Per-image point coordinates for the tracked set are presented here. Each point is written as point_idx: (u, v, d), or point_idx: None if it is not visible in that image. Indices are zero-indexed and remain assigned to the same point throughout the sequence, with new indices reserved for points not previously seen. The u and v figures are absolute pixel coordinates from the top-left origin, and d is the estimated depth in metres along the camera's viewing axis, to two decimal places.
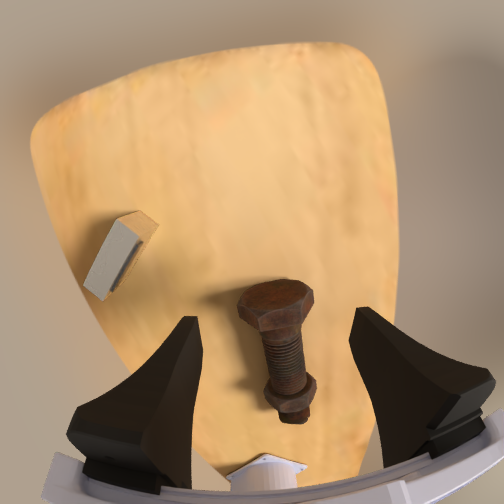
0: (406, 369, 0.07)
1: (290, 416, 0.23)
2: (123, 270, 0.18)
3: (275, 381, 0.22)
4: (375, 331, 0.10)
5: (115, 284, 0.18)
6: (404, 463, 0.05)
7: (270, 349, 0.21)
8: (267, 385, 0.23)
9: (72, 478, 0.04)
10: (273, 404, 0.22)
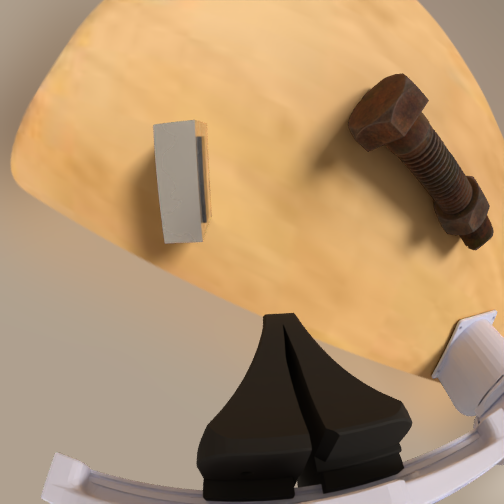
0: (304, 387, 0.07)
1: (480, 234, 0.16)
2: (202, 182, 0.13)
3: (447, 200, 0.15)
4: (288, 340, 0.10)
5: (204, 208, 0.14)
6: (404, 463, 0.05)
7: (421, 162, 0.14)
8: (440, 216, 0.17)
9: (72, 478, 0.04)
10: (460, 230, 0.15)
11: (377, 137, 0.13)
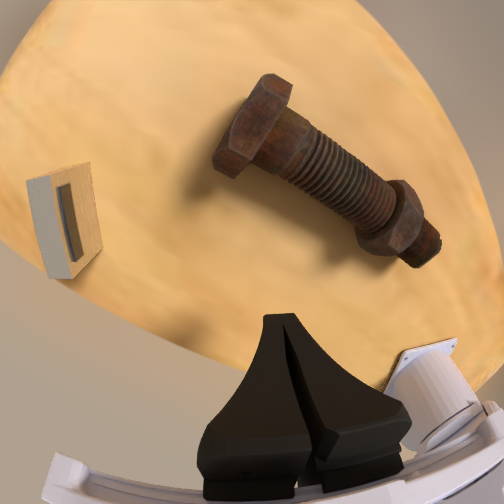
0: (304, 387, 0.07)
1: (418, 251, 0.15)
2: (67, 227, 0.13)
3: (356, 218, 0.14)
4: (288, 340, 0.10)
5: (72, 249, 0.13)
6: (404, 463, 0.05)
7: (303, 179, 0.13)
8: (357, 235, 0.16)
9: (72, 478, 0.04)
10: (383, 251, 0.15)
11: (229, 164, 0.12)
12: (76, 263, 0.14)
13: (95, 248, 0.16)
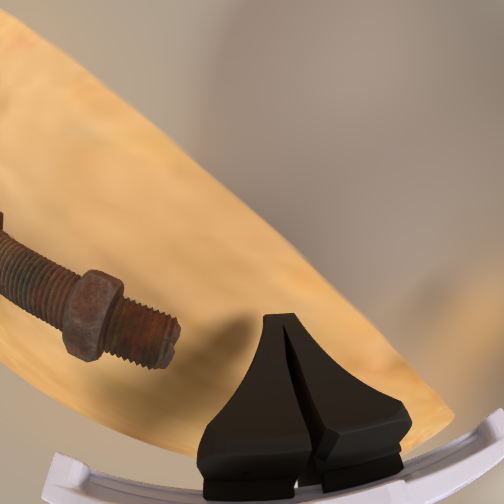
0: (304, 387, 0.07)
1: (128, 357, 0.12)
2: None
3: (48, 321, 0.11)
4: (288, 340, 0.10)
5: None
6: (404, 463, 0.05)
7: None
8: None
9: (72, 478, 0.04)
10: None
11: None
12: None
13: None
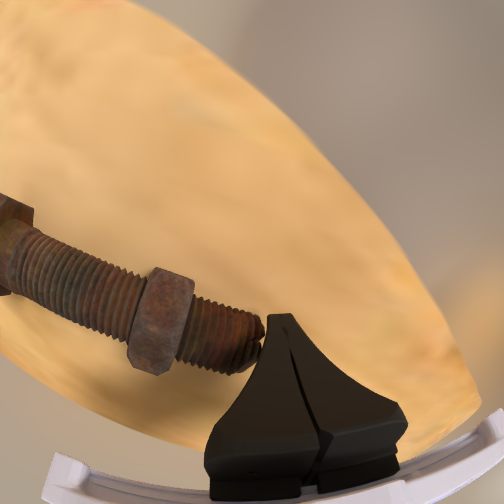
0: (300, 388, 0.07)
1: (207, 364, 0.11)
2: None
3: None
4: (285, 340, 0.10)
5: None
6: (404, 463, 0.05)
7: (34, 299, 0.10)
8: None
9: (72, 478, 0.04)
10: None
11: None
12: None
13: None
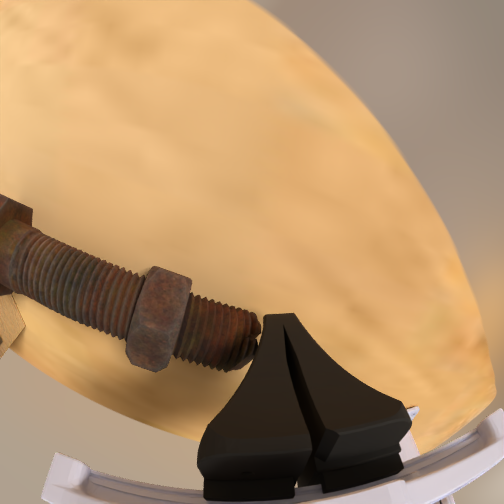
0: (304, 387, 0.07)
1: (204, 361, 0.11)
2: None
3: None
4: (288, 340, 0.10)
5: None
6: (404, 463, 0.05)
7: (35, 298, 0.10)
8: None
9: (72, 478, 0.04)
10: None
11: None
12: None
13: (16, 330, 0.13)
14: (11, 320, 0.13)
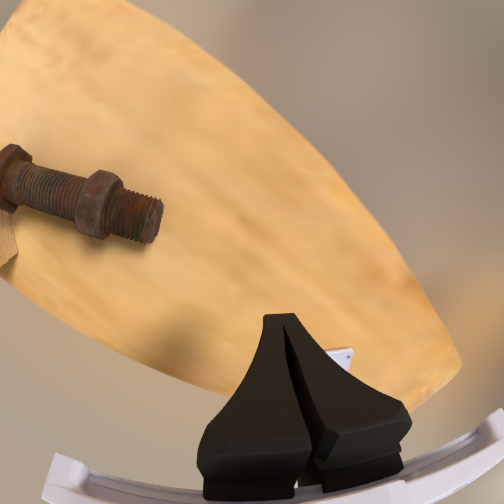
0: (304, 387, 0.07)
1: (122, 228, 0.16)
2: None
3: (64, 217, 0.16)
4: (288, 340, 0.10)
5: None
6: (404, 463, 0.05)
7: (28, 204, 0.15)
8: None
9: (72, 478, 0.04)
10: (93, 236, 0.16)
11: None
12: None
13: (11, 252, 0.19)
14: (8, 244, 0.18)
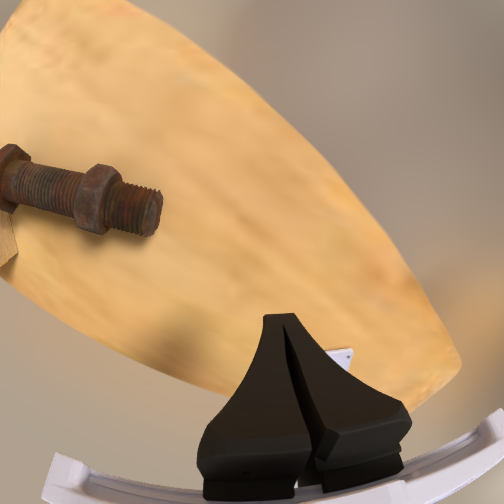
0: (304, 387, 0.07)
1: (122, 221, 0.16)
2: None
3: (63, 213, 0.16)
4: (288, 340, 0.10)
5: None
6: (404, 463, 0.05)
7: (27, 202, 0.15)
8: None
9: (72, 478, 0.04)
10: (92, 231, 0.16)
11: None
12: None
13: (11, 252, 0.19)
14: (8, 244, 0.18)
